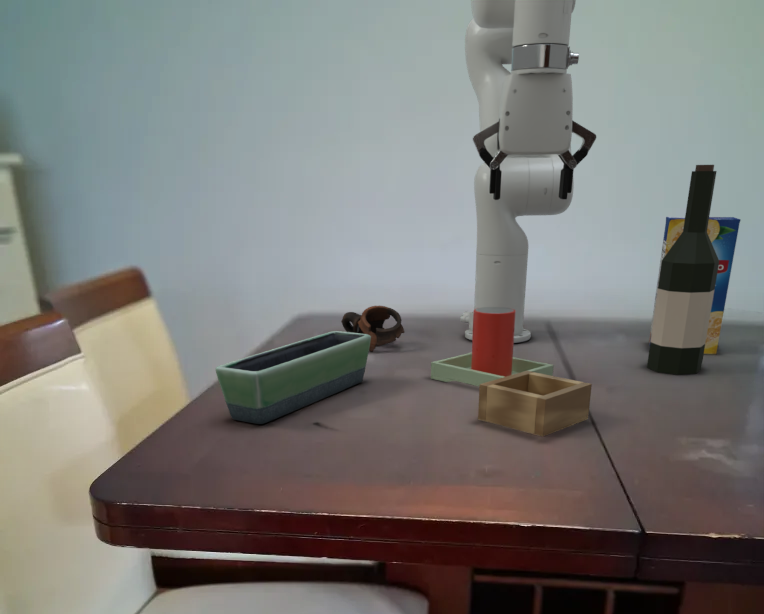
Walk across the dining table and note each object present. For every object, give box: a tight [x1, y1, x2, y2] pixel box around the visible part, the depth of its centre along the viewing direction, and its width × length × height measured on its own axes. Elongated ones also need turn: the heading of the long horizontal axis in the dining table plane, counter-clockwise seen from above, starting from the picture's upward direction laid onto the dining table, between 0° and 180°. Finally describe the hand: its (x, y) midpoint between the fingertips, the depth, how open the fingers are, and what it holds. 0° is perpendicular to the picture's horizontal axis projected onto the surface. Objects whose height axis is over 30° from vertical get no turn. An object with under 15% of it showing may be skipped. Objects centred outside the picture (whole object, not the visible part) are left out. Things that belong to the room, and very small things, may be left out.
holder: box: [477, 371, 593, 438], centre depth 94 cm, size 10×10×5 cm
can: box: [471, 307, 516, 377], centre depth 112 cm, size 6×6×10 cm
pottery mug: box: [340, 305, 406, 352], centre depth 137 cm, size 12×10×8 cm
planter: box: [215, 330, 371, 425], centre depth 104 cm, size 28×7×7 cm, turn 150°
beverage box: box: [648, 216, 741, 355], centre depth 129 cm, size 7×11×22 cm, turn 75°
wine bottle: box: [646, 164, 719, 376], centre depth 114 cm, size 8×8×30 cm
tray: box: [430, 351, 554, 387], centre depth 114 cm, size 15×12×3 cm
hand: (529, 199), depth 109 cm, fingers open, 9 cm apart
